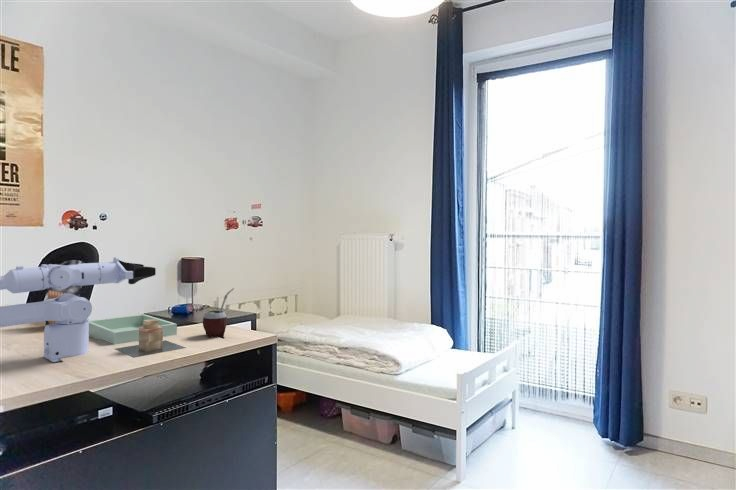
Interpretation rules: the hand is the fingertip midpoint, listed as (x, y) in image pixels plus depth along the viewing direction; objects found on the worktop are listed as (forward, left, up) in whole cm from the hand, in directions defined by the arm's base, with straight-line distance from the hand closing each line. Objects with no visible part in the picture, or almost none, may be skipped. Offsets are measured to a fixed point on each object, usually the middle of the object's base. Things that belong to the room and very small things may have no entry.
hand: (149, 269), depth 136 cm
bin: (+1, +13, -21) cm, 25 cm away
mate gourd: (+18, -7, -21) cm, 29 cm away
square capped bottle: (-3, -9, -20) cm, 22 cm away
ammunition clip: (-11, +40, -22) cm, 47 cm away
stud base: (-3, -9, -21) cm, 23 cm away
